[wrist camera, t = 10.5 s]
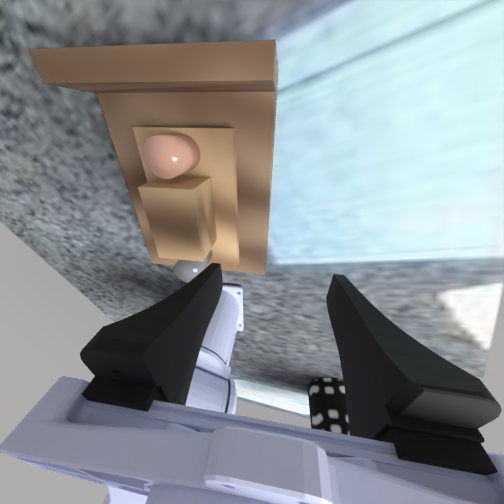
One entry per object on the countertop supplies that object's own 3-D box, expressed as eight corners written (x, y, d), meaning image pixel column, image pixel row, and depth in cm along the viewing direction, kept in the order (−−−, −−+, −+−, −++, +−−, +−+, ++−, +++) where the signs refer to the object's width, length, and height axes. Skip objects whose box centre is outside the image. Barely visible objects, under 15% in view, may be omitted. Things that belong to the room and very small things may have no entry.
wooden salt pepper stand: (239, 262, 22) (228, 294, 18) (173, 256, 23) (148, 285, 19) (235, 128, 15) (216, 128, 11) (140, 127, 16) (89, 126, 12)
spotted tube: (352, 398, 39) (403, 597, 23) (310, 397, 42) (328, 577, 25) (351, 377, 35) (410, 600, 19) (304, 377, 38) (320, 576, 21)
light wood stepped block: (266, 264, 24) (261, 299, 19) (161, 254, 26) (131, 285, 21) (278, 69, 14) (275, 39, 9) (107, 73, 16) (28, 48, 11)
